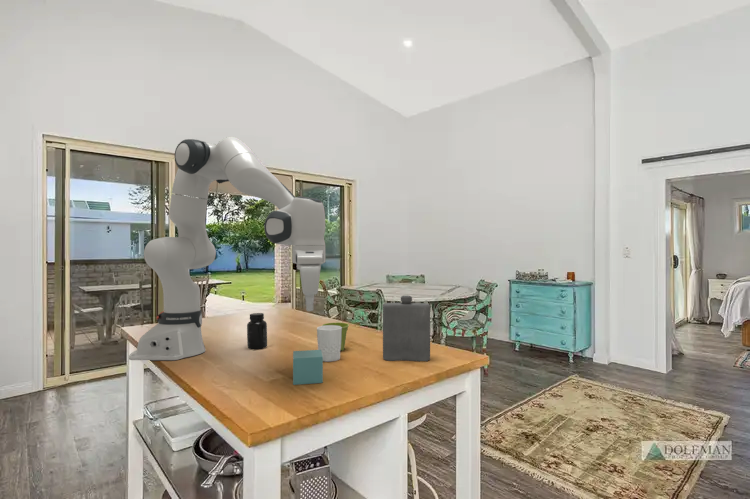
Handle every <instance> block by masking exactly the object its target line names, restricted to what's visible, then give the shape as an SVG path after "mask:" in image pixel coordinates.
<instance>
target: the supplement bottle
mask: <svg viewBox="0 0 750 499" xmlns="http://www.w3.org/2000/svg"><path fill="white" fill-rule="evenodd" d="M264 319H265V313H264V312H254V313H249V320H250V321H248V323H247V325H246V334H247V335H246V336H247V337H246V340H247V341H246V342H247V345H246V346H247V348H248V349H249V350H253V351H254V350H263V349H265V348H267V347H268V324H267V322H266V320H264Z"/></svg>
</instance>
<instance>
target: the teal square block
mask: <svg viewBox="0 0 750 499" xmlns="http://www.w3.org/2000/svg"><path fill="white" fill-rule="evenodd" d="M292 352H293V353H292V385H293V386H294V385H295V386H297V385H309V384H323V382H324V376H323V375H324V374H323V373H324V372H323V369H324V363H323V362H324V361H323V356H322V352H321V350H318V349H310V350H309V349H307V350H293V351H292Z"/></svg>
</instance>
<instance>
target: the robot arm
mask: <svg viewBox="0 0 750 499" xmlns="http://www.w3.org/2000/svg"><path fill="white" fill-rule="evenodd" d="M174 162H175V164H176V167H177V170H176V174H175V177H174V181H173V184H172V187H171V189H172V190H171V196H170V201H169V202H170V203H169V210H168V216H169V219H170V221H171V222H172V223H173V224H175V227H176V228H177V234H178V236H163V237H159V238H154V239H151V240H150V241H148V242H147V244H146V245H145V247H144V250H143V257H144V261H145V263H146V265H147V266H148V267H149V268H151V269H152V270H153V271H154V272H155V273H156V275H157V277H158V278H159V281H160V283H161V287H162V291H163V311H161V312H160V313H159V314H158V315H157V316H155V319H156V320H157V324H155V325H154V326H153V327H151V328H150V329H149V330H147V331H146V332H145V333H144V334H143V335H141V337H140V338H139V339H138V343H137V347H136V350H134V351H132V352H131V353H130V354H129V355H128V360H129V361H178V360H180V359H184V358H189V357H193V356H197V355H201V354H203V353H205V352H206V347H205V344H204V340H203V335H202V324H203V314H202V309H201V288H200V286H199V284H197V282H195V281H193V279H192V278H191V277H192V276H191V275H190V271H189V270H197V269H202V268H205V267H208V266H210V265H211V264H213V263H214V261H215V260H216V254H217V251H216V247H215V245H214V244H213V243H212V242H211V240H210V238H209V235H208V233H207V226H206V225H207V224H206V216H207V207H208V199H209V190H210V185H211V184H212V183H213V182H214V181H216V182H217V183H218V184H223V183H226V182H229V183H230V184H231V186H233V187H234V188H235V189H236V190H237V191H239V192H240V193H242V194H245V195H247V196H251V197H255V198H258V199H261V200H264V201H267V202H269V203H270V204H273V205H274V206H275V207H276V208H277V209H278V210H273V211H271V212H270V213H269V214H268V215H267V216H266V218H265V219H264V220H265V221H264V227H263V228H264V234H265V236H266V238H267V239H268V241H269V242H271V243H272V244H275V245H282V246H283V245H286V246H291V250H292V254H291V255H292V256H291V258H292V259H291V261H292V264H296V270H299V273H300V274H299V275H300V281H301V282H300V283H301V289H302V293H303V295H304V299H305V300H304V301H305V302H304V304H305V307H306V308H305V310H306V311H307V312H313V311H314V302H315V295H317V294H318V293H319V288H320V287H319V286H320V279H321V276H320V275H321V269H322V265H323V264H325V263H326V242H325V233H326V212H325V207H324V203H323V201H322V200H320V199H319V198H315V197H309V196H301V195H299V196H295V195H294V194H293V193H292V191H290V190H289V189H288V187H287V186H286V185H285V184H283V183H282V182H281V181H280V180H279V179H278V178H277V177H276V176H275V175H274V174H273V173H272V172H271V171H270V170H269V169H268V167H266V165H265V164H263V163H262V161H261V160H260V159H259V157H258V156H257V155H256V154H255V152H254V151H253V150H252V149H251V148H250V147H249V146H248V145H247V144H246V143H245V142H244V141H243V140H241V139H240V138H238V137H236V136H235V137H234V136H228V137H227V136H226V137H223V138H222V139H221V140H220V141H218V143H209V142H206V141H203V140H199V139H193V138H192V139H189V138H188V139H184V140H181V141H180V142H179V143H178V144H177V146H176V148H175V151H174Z"/></svg>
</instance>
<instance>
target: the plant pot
mask: <svg viewBox="0 0 750 499" xmlns="http://www.w3.org/2000/svg"><path fill="white" fill-rule="evenodd" d="M326 325H336V326H341V327H342V335H341V350H340V352H341V351H342V352H343V351H345V347H346V339H347V334H348V328H349V326H350V324H349V323H347V322H346V323H345V322H328V323H323V324H322V325H321V326H326Z"/></svg>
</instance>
